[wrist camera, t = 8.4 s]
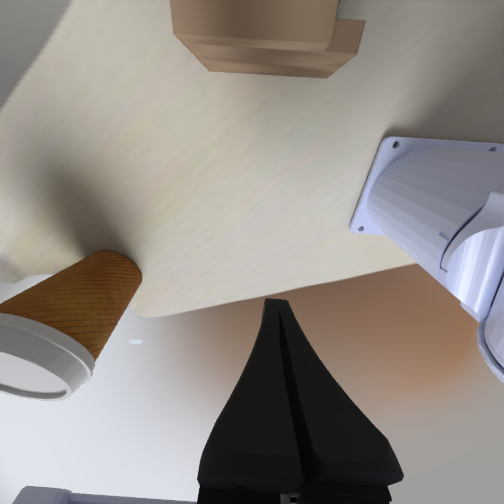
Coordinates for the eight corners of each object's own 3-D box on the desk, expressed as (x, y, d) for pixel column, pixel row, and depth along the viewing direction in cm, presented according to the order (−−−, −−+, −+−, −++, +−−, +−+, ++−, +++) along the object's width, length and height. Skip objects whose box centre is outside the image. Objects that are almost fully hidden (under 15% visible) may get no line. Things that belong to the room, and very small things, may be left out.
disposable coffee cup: (57, 248, 22) (-115, 347, 12) (124, 229, 20) (-16, 329, 10) (111, 302, 27) (20, 405, 17) (169, 291, 25) (105, 400, 15)
